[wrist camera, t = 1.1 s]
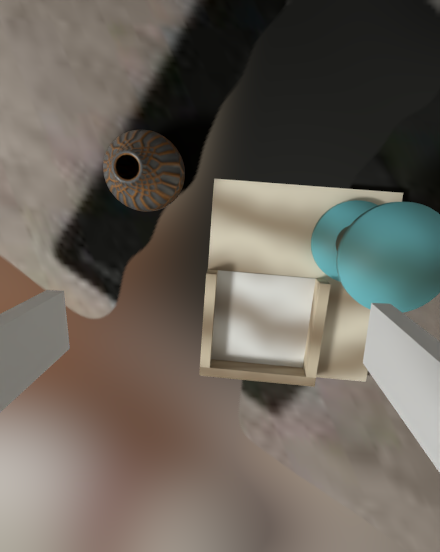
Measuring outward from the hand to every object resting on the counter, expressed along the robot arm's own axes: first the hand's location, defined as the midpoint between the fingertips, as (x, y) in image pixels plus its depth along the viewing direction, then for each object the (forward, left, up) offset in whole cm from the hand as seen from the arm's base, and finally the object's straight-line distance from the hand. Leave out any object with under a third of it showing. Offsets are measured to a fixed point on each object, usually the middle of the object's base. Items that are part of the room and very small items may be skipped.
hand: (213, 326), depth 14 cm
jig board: (+3, +7, -21) cm, 22 cm away
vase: (-7, -8, -21) cm, 24 cm away
